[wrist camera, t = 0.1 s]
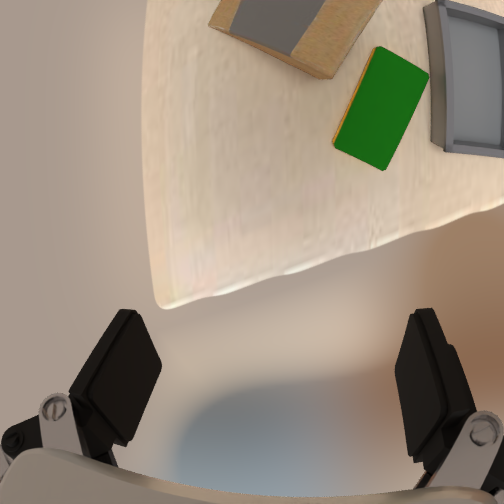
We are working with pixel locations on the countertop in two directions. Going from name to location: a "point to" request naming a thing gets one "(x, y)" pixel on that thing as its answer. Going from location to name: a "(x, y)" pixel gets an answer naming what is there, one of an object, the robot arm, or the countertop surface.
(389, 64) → the dish sponge
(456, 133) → the big crate
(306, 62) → the sandwich container
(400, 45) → the countertop surface
